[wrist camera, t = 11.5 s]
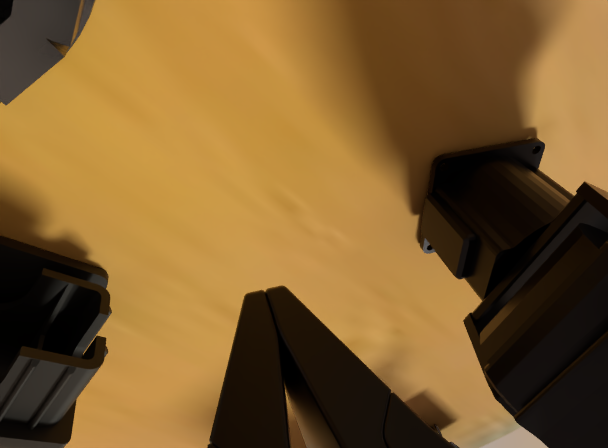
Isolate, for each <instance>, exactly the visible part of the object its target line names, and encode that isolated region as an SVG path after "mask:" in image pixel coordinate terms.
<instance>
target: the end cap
mask: <svg viewBox="0 0 608 448" xmlns="http://www.w3.org/2000/svg"><path fill="white" fill-rule="evenodd" d="M107 284H108V274H107V272H106V271H104V270H103V269H101V268H98V267H95V266H92V265H89V264H86V263H83V262H80V261H77V260H74V259H70V258H67V257H64V256H61V255H58V254H55V253H52V252H49V251H46V250H43V249H40V248H37V247H34V246H31V245H28V244H24V243H21V242H18V241H15V240H12V239H9V238H6V237H3V236H0V448H64V447H65V445H66V444H67V443H68V442H69V441H70V439H71V434H72V427H73V420H74V413H75V406H76V399H77V398H78V396H79V395H80V393H81V392H82V391H83V389H84V388H85V387H86V385H87V384H88V383H89V381H90V380H91V379H92V377H93V376H94V375H95V373H96V372H97V371H98V369H99V368H100V366H101V365H102V364H103V361H104V357H105V356H106V355H107V353H108V349H107V347H106V338H105V337H100V336H96V334H97V333H98V331H99V330H100V329H101V327H102V326H103V324H104V323H105V322H106V320H107V319H108V317H109V316H110V314H111V313H112V310H111V308H110V306H109V305H110V294H109V292H108V291H107V290H106V287H107ZM95 336H96V338H95V339H94V340H93V338H94V337H95ZM92 340H93V342H92V343H91V341H92ZM90 343H91V345H90V346H89V344H90ZM88 346H89V347H88ZM87 347H88V349H87V350H86V348H87ZM85 350H86V352H85V353H84V351H85ZM83 353H84V355H83Z"/></svg>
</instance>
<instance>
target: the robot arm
mask: <svg viewBox="0 0 608 448" xmlns="http://www.w3.org/2000/svg"><path fill="white" fill-rule="evenodd" d="M544 149H545V144H544V143H543V142H542V141H540V140H539V139H537V138H534V139H528V140H522V141H517V142H511V143H506V144H500V145H495V146H489V147H483V148H478V149H472V150H467V151H461V152H455V153H450V154H444V155H440V156H438V157H437V158H436V159H435V160H434V161H433V164H432V169H431V175H430V182H429V189H428V194H427V196H426V198H425V204H424V211H423V218H422V224H421V233H422V235H421V241H420V247H421V249H422V250H423V251H424V253H427V254H428V253H434V252H436V253H437V254H438V256H439V257H440V258H441V259H442V261H443V262H444V263H445V265H446V266H447V267H448V269H449V270H450V271H451V272H452V274H453V275H454V276H455V277H456V278H458V279H463V278H465V280H466V281H467V282H468V283H469V285H470V286H471V287H472V289H473V290H474V291H475V292H476V294H477V295H478V296H479V297H480V299H481V300H482V302H481V303H480V305H479V306H478V307H477V308H476V309H475V310H474V311H473V313H469V314H468V316H467V317H466V318H465V319H464V320H463V322H464V324H465V327H466V329H467V332H468V335H469V337H470V340H471V342H472V345H473V347H474V350H475V353H476V355H477V358H478V360H479V363H480V365H481V368H482V370H483V373H484V376H485V378H486V381H487V383H488V385H489V387H490V389H491V391H492V393H493V395H494V397H495V399H496V400H497V401H498V402H499V403H501V404H502V406H503V407H504V408H505V409H506V410H507V411H508V412H509V413H510V414H511V415H512V416H513V417H514V419H515V421H516V422H517V423H518V424H519V425H521V426H522V427H524V428H525V429H526V430H528V431H529V432H530V433H532V434H533V435H534V436H536V437H537V438H538V439H540V440H541V441H542V442H543V443H544V444H545V445H546V446H547V447H548V448H608V192H606V191H604V190H602V189H600V188H598V187H596V186H594V185H591V184H589V183H587V182H585V181H584V182H583V184H582V185H581V186H580V187H579V188H578V189H577V191H576V192H577V194H576V195H575V196H573V195H572V194H571V193H569V192H568V191H567V190H565V189H564V188H563V187H561V186H560V185H559V184H557V183H556V182H555V181H553V180H552V179H551V178H549V177H548V176H547V175H545V174H544V173H543V172H541V171H540V170H539V169H538V168H539V164H540V161H541V158H542V155H543V152H544ZM443 163H445V164H444V165H443V166H442V167H441V165H442V164H443ZM428 245H429V246H428ZM285 389H286V393H287V396H288V399H289V401H290V404H291V407H292V410H293V412H294V415H295V418H296V420H297V423H298V426H299V428H300V431H301V434H302V436H303V439H304V442H305V444H306V447H307V448H455V447H454V446H453V445H452V444H450V443H449V442H448V441H447V440H446V439H444V438H443V437H442V436H441V435H440V434H438V433H437V432H436V431H435V430H433V429H432V428H431V427H430V426H429V425H428V424H427V423H425V422H424V421H423V420H422V419H421V418H420V417H419V416H418V415H417V414H416V413H415V412H414V411H412V410H411V409H410V408H409V407H408V406H407V405H406V404H405V403H404V402H403V401H402V400H401V399H400V398H399V397H398V396H397V395H396V394H395V393H391V390H390V388H388V387H387V386H386V385H385V384H384V383H383V382H382V381H381V380H380V379H379V378H378V377H377V376H376V375H375V374H374V373H373V372H372V371H371V370H370V369H369V368H368V367H367V366H366V365H365V364H364V363H363V362H362V361H361V360H360V359H359V358H358V357H357V356H356V355H355V354H354V353H353V352H352V351H351V350H350V349H349V348H348V347H347V346H346V345H345V344H344V343H343V342H342V341H341V340H339V339H338V338H337V337H336V336H335V335H334V334H333V333H332V332H331V331H330V330H329V329H328V328H327V327H326V326H325V325H324V324H323V323H322V322H321V321H320V320H319V319H318V318H317V317H316V316H315V315H314V314H313V313H312V312H311V311H310V310H309V309H308V308H307V307H306V306H305V305H304V304H303V303H302V302H301V301H300V300H299V299H298V298H297V297H296V296H295V295H294V294H293V293H292V292H290V291H289V290H288V289H287V288H286V287H285V286H277V287H273V288H268V289H267V290H266V291H265V292H264V291H263V290H259V291H255V292H250V293H247V294H246V295H245V296H244V300H243V304H242V308H241V312H240V316H239V320H238V324H237V328H236V333H235V337H234V341H233V345H232V349H231V353H230V357H229V361H228V366H227V370H226V374H225V378H224V382H223V386H222V390H221V394H220V398H219V403H218V407H217V411H216V415H215V419H214V423H213V427H212V431H211V436H210V440H209V441H210V444H208V447H207V448H291V440H290V430H289V421H288V412H287V403H286V394H285Z"/></svg>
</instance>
